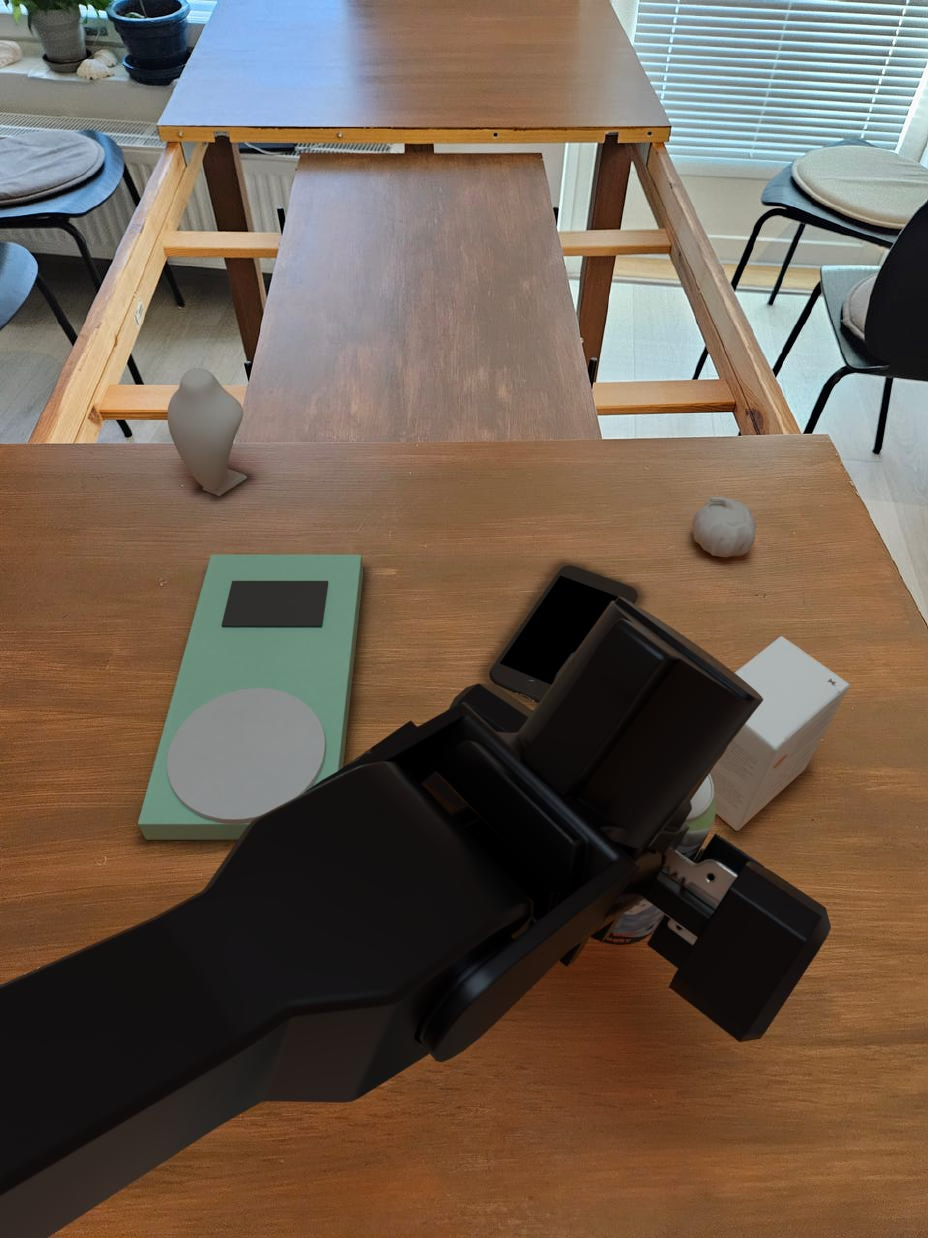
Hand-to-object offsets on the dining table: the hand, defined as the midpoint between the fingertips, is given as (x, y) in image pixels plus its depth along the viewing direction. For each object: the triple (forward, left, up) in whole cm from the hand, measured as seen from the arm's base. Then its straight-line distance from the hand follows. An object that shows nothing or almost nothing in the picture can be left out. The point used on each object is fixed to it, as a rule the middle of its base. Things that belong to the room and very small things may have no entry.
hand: (652, 824), depth 47 cm
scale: (+10, +30, -13) cm, 34 cm away
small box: (+14, -6, -13) cm, 20 cm away
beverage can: (-1, +1, -7) cm, 7 cm away
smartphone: (+23, +10, -14) cm, 28 cm away
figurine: (+31, +46, -13) cm, 57 cm away
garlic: (+38, -1, -13) cm, 40 cm away
